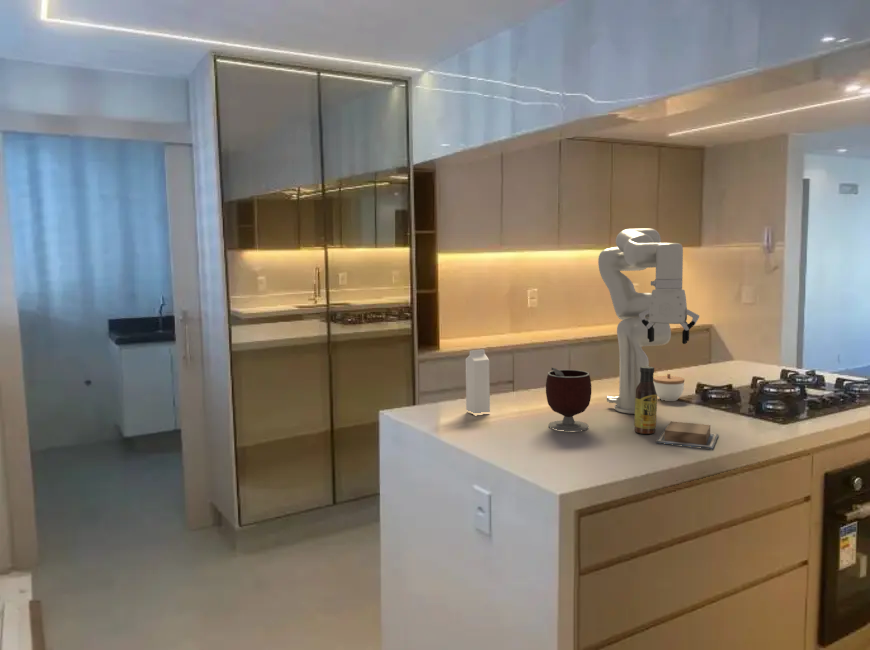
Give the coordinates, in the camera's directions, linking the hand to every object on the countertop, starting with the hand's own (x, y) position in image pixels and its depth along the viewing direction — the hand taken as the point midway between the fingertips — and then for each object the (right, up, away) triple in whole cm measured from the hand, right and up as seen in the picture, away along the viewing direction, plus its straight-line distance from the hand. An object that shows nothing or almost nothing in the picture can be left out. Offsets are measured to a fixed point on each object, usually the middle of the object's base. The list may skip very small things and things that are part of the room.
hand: (667, 342), depth 203 cm
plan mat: (+3, -28, -7) cm, 29 cm away
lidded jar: (+16, -22, +46) cm, 53 cm away
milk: (-55, -25, +30) cm, 67 cm away
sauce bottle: (-6, -27, +2) cm, 28 cm away
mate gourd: (-28, -27, +9) cm, 40 cm away
